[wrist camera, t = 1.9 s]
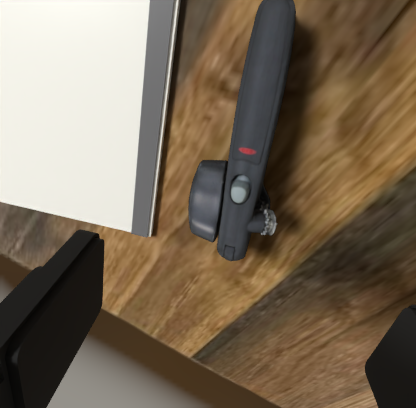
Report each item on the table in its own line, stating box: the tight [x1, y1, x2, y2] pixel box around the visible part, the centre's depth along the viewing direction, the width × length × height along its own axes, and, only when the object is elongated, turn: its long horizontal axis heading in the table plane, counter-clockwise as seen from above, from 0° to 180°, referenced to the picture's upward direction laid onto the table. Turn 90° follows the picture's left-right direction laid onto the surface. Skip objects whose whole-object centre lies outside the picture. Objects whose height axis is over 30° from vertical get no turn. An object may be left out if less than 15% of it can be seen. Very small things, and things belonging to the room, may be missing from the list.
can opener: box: [189, 0, 296, 261], centre depth 20 cm, size 18×7×6 cm, turn 169°
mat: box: [0, 0, 181, 237], centre depth 23 cm, size 22×20×1 cm
